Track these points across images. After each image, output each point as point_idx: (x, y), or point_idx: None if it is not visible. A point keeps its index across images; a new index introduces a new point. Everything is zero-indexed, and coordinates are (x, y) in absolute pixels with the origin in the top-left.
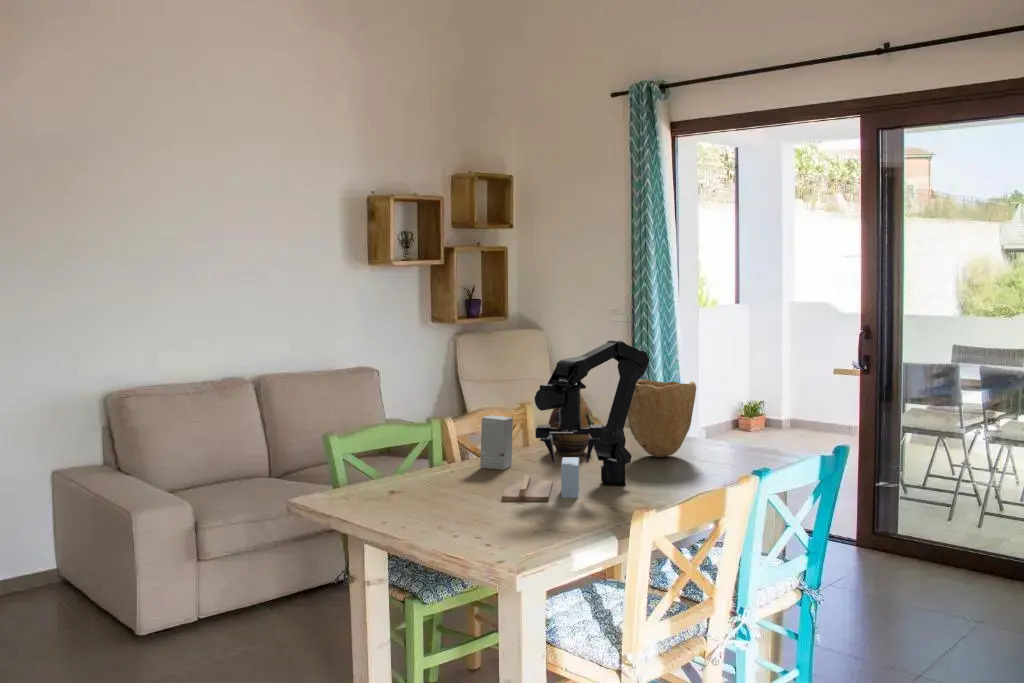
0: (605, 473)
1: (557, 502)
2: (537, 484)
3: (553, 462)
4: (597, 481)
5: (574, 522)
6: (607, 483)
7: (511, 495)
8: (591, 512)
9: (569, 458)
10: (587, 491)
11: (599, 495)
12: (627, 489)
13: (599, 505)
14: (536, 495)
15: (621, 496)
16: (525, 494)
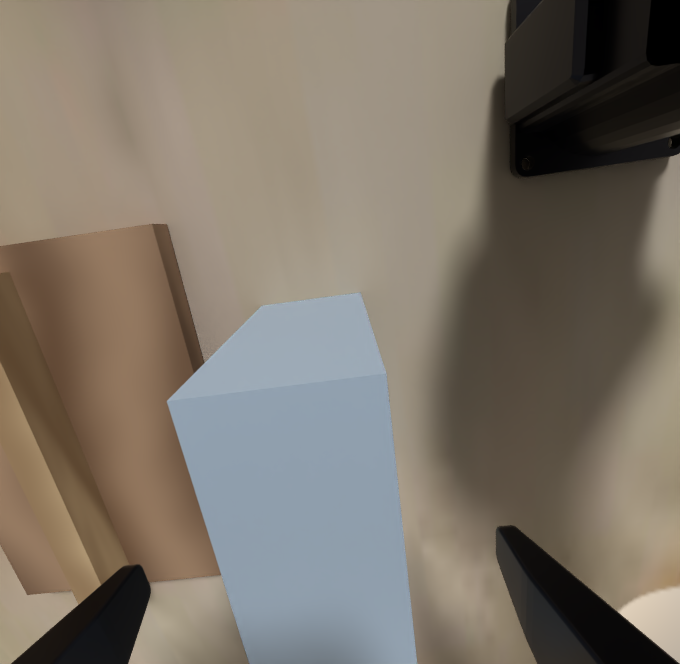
0: (581, 109)
1: None
2: (92, 343)
3: (141, 590)
4: (464, 39)
5: None
6: (549, 170)
7: (62, 574)
8: (465, 654)
9: (270, 449)
10: (417, 345)
11: (490, 415)
12: (667, 253)
13: (495, 570)
14: (182, 557)
15: (611, 415)
16: None
